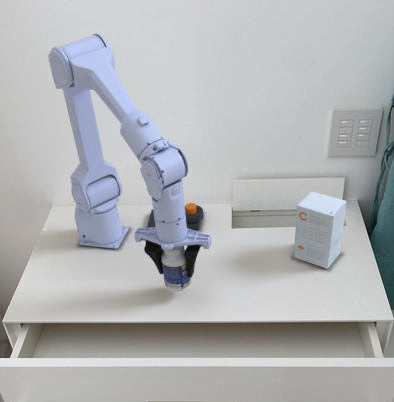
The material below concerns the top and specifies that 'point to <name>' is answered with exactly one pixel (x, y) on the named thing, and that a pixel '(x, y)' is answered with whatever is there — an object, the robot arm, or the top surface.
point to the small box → (319, 229)
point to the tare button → (190, 209)
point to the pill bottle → (175, 269)
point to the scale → (191, 220)
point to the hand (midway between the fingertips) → (176, 272)
